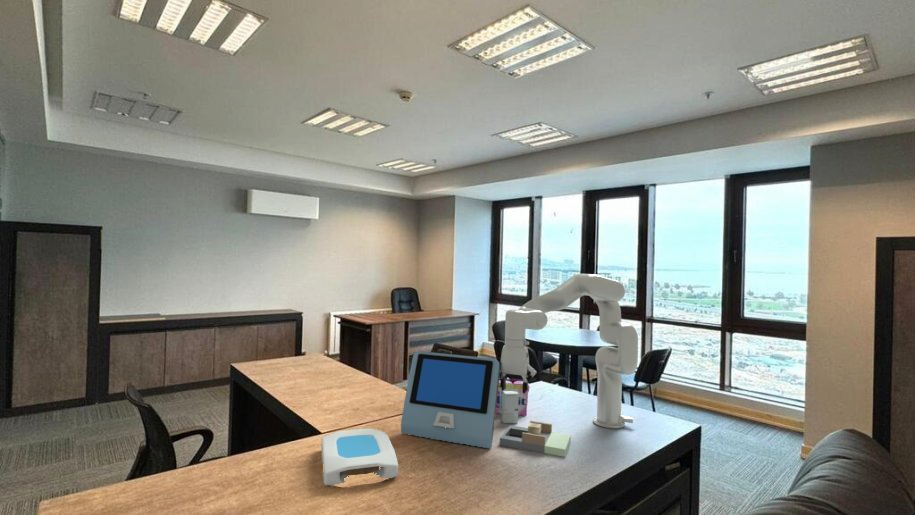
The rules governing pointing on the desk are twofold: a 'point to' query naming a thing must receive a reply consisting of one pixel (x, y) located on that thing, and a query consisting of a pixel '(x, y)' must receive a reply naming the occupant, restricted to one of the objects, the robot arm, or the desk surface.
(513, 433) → the board
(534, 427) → the birch block
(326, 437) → the white step stool
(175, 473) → the desk surface
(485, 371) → the touchscreen device
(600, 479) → the desk surface
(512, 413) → the skincare box
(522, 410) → the gum box
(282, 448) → the desk surface
